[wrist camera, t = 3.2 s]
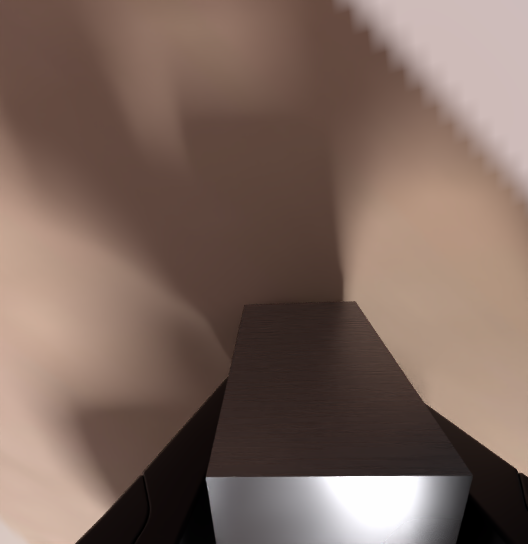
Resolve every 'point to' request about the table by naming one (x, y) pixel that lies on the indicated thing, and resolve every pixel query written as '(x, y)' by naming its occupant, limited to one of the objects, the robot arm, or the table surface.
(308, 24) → the table surface
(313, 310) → the grey mallet
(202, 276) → the table surface
